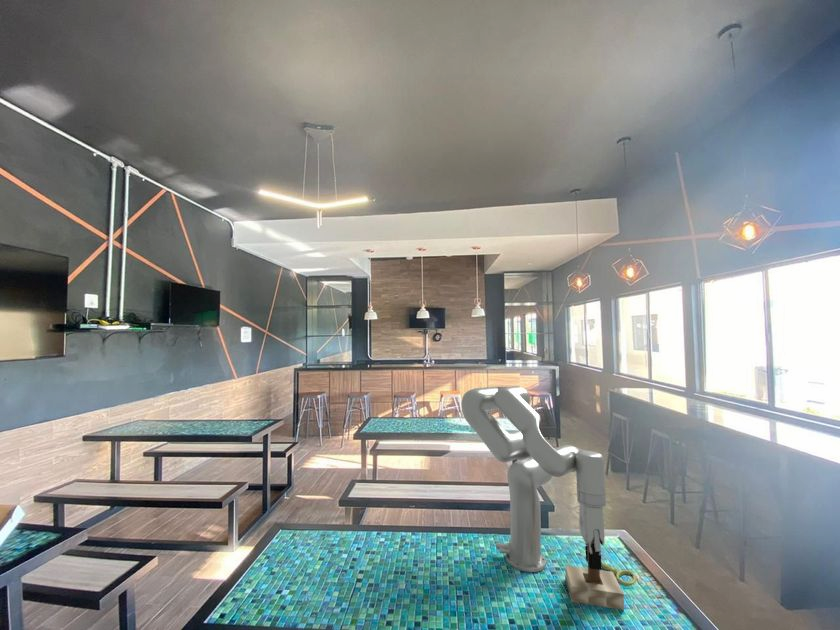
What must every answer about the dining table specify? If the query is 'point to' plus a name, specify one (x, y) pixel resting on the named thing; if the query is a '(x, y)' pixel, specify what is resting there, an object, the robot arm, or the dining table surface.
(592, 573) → the walnut peg
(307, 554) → the dining table surface
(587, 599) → the maple hole block
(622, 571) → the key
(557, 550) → the dining table surface
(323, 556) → the dining table surface
